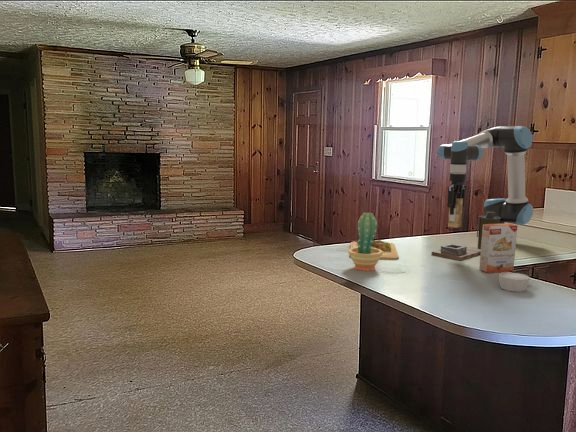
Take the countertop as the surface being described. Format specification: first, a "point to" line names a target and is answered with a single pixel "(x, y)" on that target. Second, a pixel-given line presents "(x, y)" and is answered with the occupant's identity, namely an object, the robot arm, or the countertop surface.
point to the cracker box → (498, 247)
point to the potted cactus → (366, 244)
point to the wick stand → (456, 252)
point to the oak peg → (458, 214)
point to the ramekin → (513, 281)
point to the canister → (486, 220)
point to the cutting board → (387, 249)
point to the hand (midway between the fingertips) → (454, 220)
